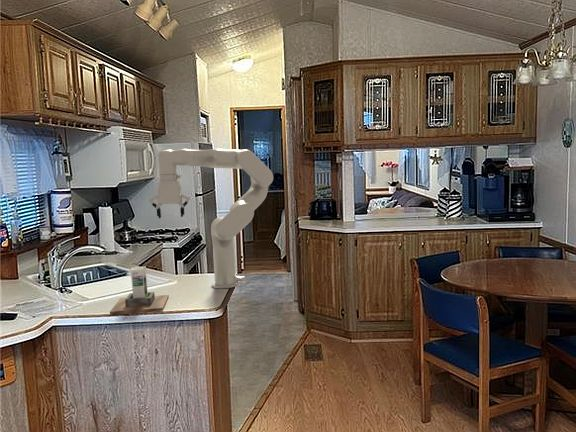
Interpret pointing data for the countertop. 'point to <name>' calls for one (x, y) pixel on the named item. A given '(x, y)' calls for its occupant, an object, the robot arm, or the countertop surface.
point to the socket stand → (140, 304)
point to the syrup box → (139, 282)
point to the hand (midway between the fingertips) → (171, 217)
